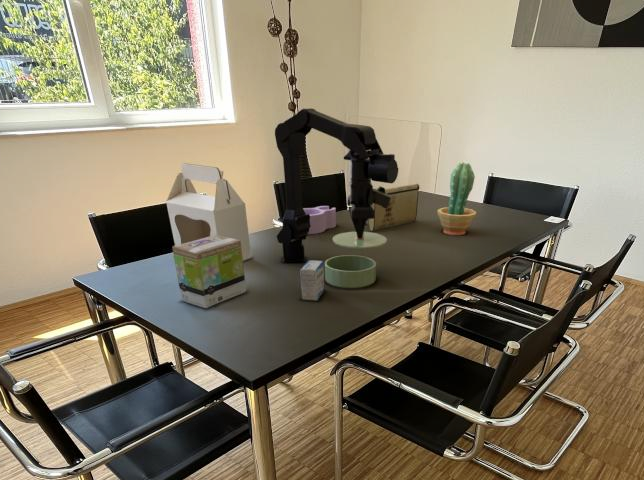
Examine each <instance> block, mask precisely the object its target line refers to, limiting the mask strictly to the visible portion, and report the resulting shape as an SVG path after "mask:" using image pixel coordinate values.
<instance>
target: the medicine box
mask: <svg viewBox="0 0 644 480" xmlns="http://www.w3.org/2000/svg"><path fill="white" fill-rule="evenodd" d="M299 271H300V287H301V289H300V290H301V300H304V301H314V302H317V301H318V300H319V299H320V297H321V296H322V294H323V293H324V292H325V269H324V261H323V260H307V262H306V263H305V264H304V265H303V266H302V267H301V269H300V270H299Z"/></svg>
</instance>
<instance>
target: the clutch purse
mask: <svg viewBox="0 0 644 480" xmlns="http://www.w3.org/2000/svg"><path fill="white" fill-rule="evenodd" d="M419 190H420V184H419V183H415V184H408V185H402V186H397V187H396V186H395V187H391V188H385V193H387V194H388V195H390V196H391V199H390V202H389V205H388V207H387V209H386V208H383V207H382V206H380V205H378V204H375V203H372V205H371V206H372V208H373V209H374V211H375V212H374V218H373V219H368V220H369V222H368V223H369V224H367V223H366V224H365V227H366V226H367V227H369V230H370V232H373V231H378V230H382V229H385V228H390V227H394V226H398V225H402V224H403V225H404V224H407V223H411V222H416V221H417V217H418V205H419V204H418V203H419Z"/></svg>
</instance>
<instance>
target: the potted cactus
mask: <svg viewBox="0 0 644 480" xmlns="http://www.w3.org/2000/svg"><path fill="white" fill-rule="evenodd" d="M475 178H476V176H475V173H474V171H473V168H472V166H471V164H470V162H467V163H465V162H462V163H461V162H459V163H457V164H456V166H455V167H454V168H453V170H452V171H451V173H450V179H449V189H450V190H449V191H450V197H449V202H448V206H447V207H441V208H438V209H437V211H436V212H437V216H438V218H439V222H440V224H441V226H442V228H443V231H442V233H444V234H446V235H450V236H462V235H466V230H467V229H468V228H469V226H470V225H471V223H472V221H473V219H475V217H476V215H477V211H475V210H474V209H471V208H466V205H467V203H468V198H469V196H470V194H471V192H472V191H473V187H474V183H475Z"/></svg>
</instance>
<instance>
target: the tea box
mask: <svg viewBox="0 0 644 480" xmlns="http://www.w3.org/2000/svg"><path fill="white" fill-rule="evenodd" d="M171 248H172V249H171V250H172V255H173V259H174V265H175V271H176V278H177V283H178V288H179V293H180V298H181V301H182V302H185V303H188V304H191V305H194V306H197V307H200V308H204V309H209V308H210V307H212V306H214V305H217V304H219V303H222V302H224V301H227V300H229V299H232V298H234V297H237V296H239V295H242V294H245V293H246V292H247V287H246V277H245V269H244V268H245V267H244V261H243V258H242V247H241V241H240V240H236V239H232V238H227V237H223V236H218V235H213V236H209V237H206V238H202V239H198V240H195V241H191V242H188V243H184V244H180V245H176V246H175V245H173V246H172V247H171Z"/></svg>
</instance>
